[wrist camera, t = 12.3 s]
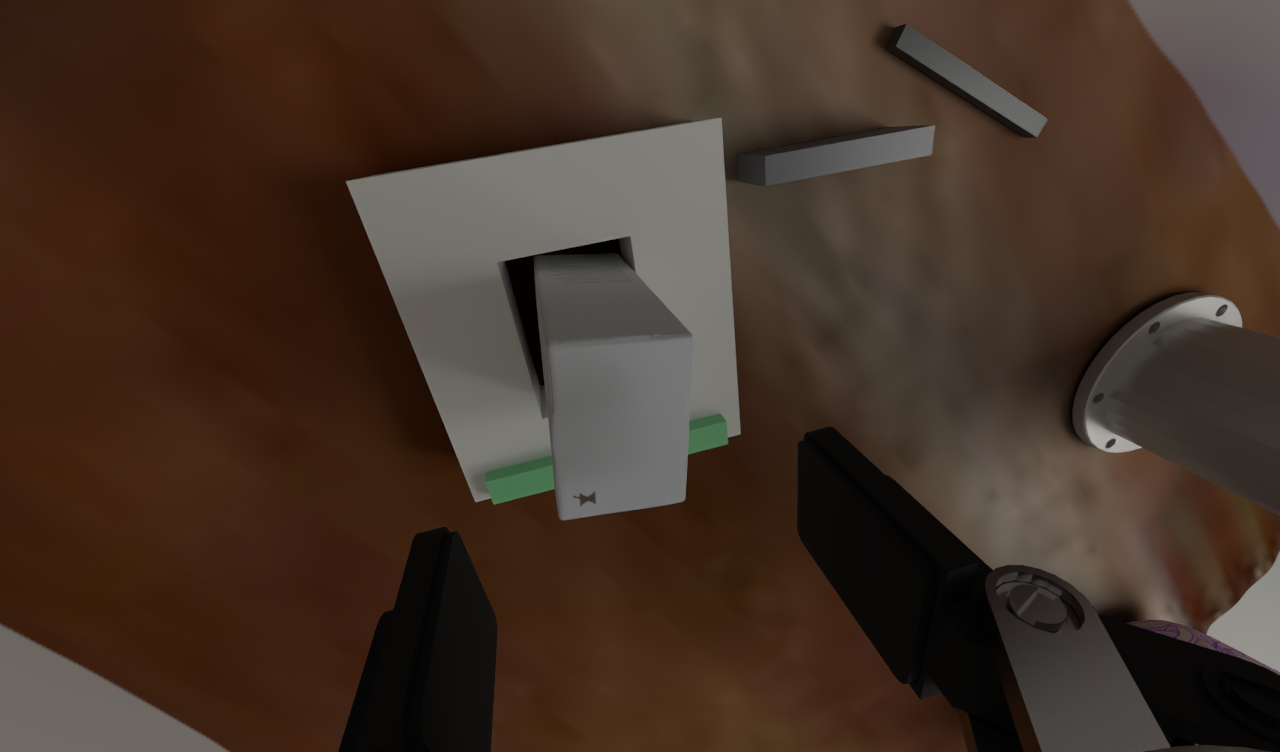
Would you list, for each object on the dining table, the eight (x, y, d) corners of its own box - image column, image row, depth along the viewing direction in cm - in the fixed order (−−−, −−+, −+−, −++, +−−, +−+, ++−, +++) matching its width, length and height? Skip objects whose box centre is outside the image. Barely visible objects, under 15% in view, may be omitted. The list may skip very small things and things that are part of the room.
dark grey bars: (1093, -159, 20) (1177, -204, 18) (1031, 136, 26) (1090, 135, 23) (723, -120, 18) (757, -164, 16) (739, 192, 24) (766, 198, 21)
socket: (693, 120, 22) (729, 116, 18) (717, 403, 29) (746, 442, 25) (373, 175, 20) (338, 183, 16) (480, 461, 27) (473, 513, 23)
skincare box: (621, 361, 26) (687, 508, 16) (542, 367, 25) (554, 527, 15) (620, 247, 24) (699, 333, 13) (531, 250, 23) (538, 345, 12)
